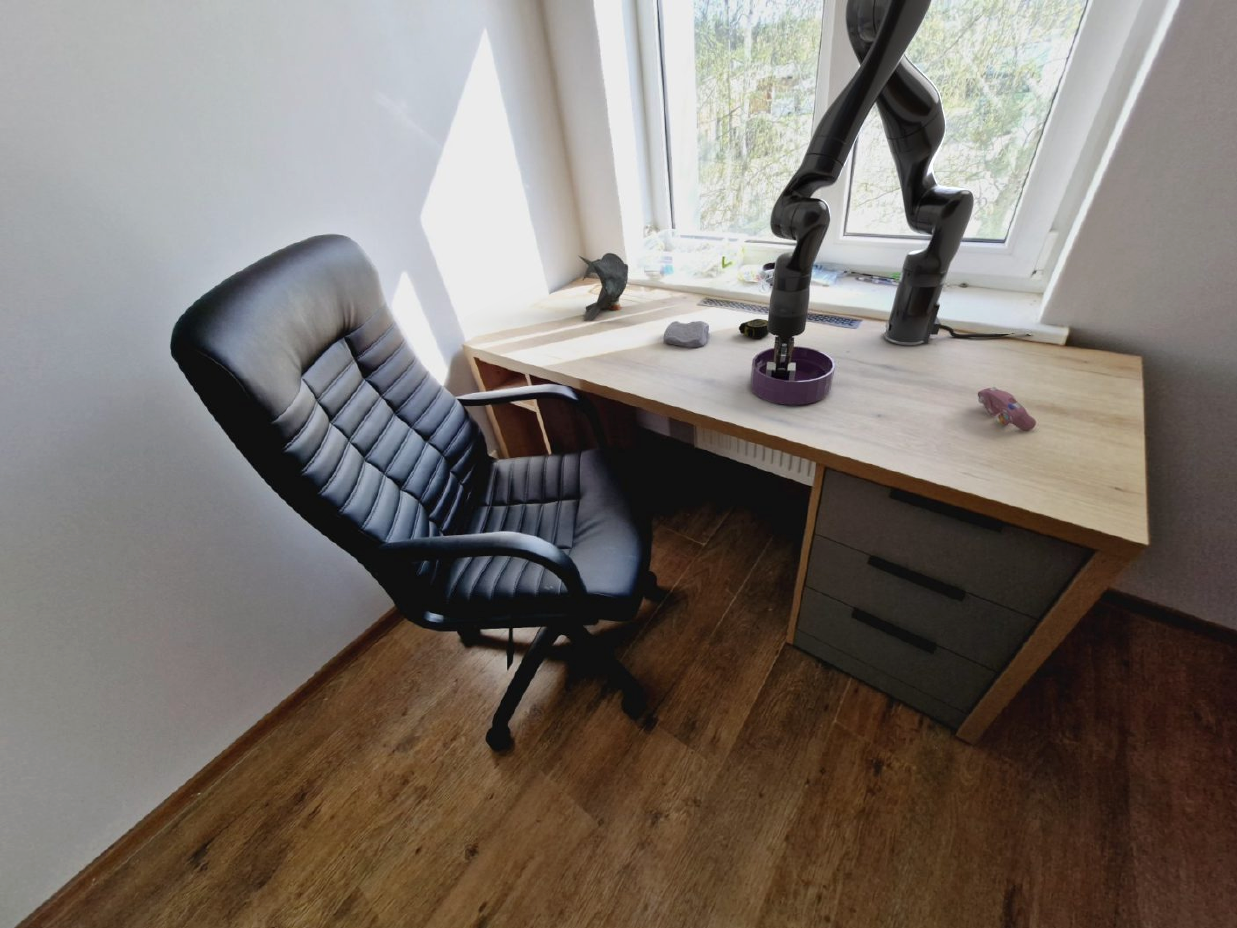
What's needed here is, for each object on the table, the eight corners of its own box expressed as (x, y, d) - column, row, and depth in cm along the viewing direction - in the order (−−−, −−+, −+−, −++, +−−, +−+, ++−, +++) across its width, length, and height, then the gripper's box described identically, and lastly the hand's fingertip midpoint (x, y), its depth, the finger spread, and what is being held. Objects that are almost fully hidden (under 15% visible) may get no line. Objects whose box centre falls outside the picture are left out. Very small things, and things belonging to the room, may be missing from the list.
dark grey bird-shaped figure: (631, 316, 149) (626, 257, 138) (584, 321, 150) (575, 262, 139) (631, 301, 160) (626, 245, 149) (587, 305, 161) (579, 250, 150)
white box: (793, 380, 106) (795, 362, 103) (792, 389, 103) (795, 370, 100) (765, 379, 108) (767, 361, 105) (764, 387, 105) (766, 369, 102)
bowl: (828, 371, 109) (833, 347, 105) (831, 409, 97) (836, 384, 93) (753, 368, 114) (755, 345, 110) (747, 404, 102) (749, 379, 98)
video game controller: (975, 412, 93) (970, 387, 89) (999, 401, 92) (996, 374, 88) (1012, 441, 85) (1009, 414, 82) (1039, 428, 84) (1037, 401, 80)
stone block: (703, 354, 126) (710, 332, 132) (702, 339, 123) (709, 317, 129) (661, 353, 131) (670, 332, 136) (659, 338, 127) (668, 317, 133)
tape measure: (758, 328, 132) (759, 315, 129) (774, 336, 127) (775, 323, 124) (738, 334, 130) (738, 321, 128) (753, 342, 125) (754, 329, 123)
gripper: (808, 322, 88) (796, 400, 99) (807, 296, 99) (796, 369, 109) (767, 321, 91) (759, 398, 101) (770, 296, 101) (763, 368, 112)
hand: (779, 383), depth 105 cm, fingers closed on white box, 3 cm apart
